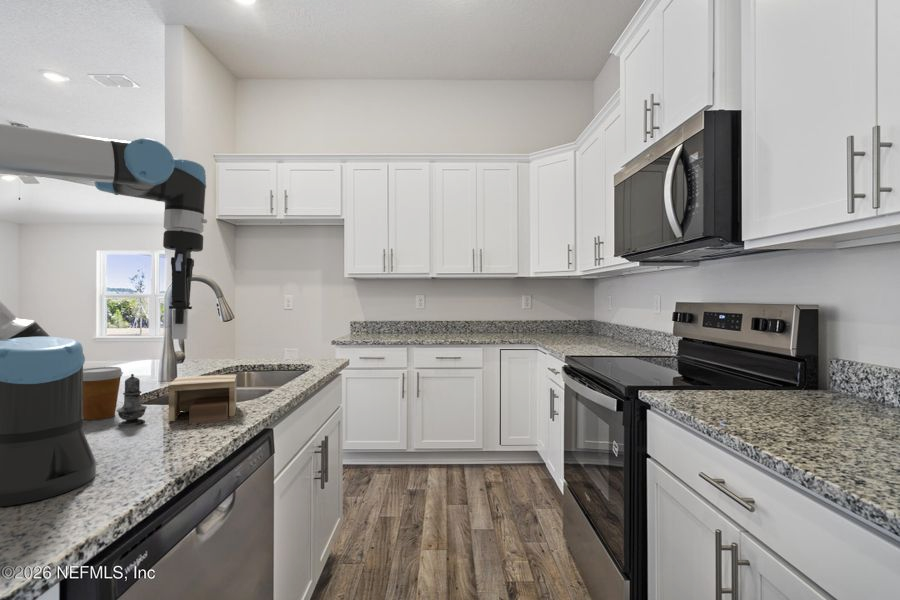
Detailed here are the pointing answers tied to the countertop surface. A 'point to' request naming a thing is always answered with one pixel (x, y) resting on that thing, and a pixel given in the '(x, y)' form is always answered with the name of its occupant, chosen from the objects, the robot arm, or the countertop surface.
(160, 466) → the countertop surface
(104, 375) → the disposable coffee cup
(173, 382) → the oak bridge
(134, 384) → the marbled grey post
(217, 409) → the dark brown block
